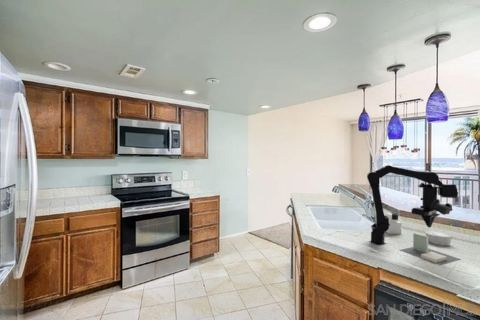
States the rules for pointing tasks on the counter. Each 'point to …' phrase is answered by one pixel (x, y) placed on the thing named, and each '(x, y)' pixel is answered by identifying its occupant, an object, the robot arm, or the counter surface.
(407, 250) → the slate mat
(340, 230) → the counter surface
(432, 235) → the ramekin
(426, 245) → the sage tile
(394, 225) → the medicine bottle
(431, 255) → the cream angular block
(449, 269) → the counter surface
